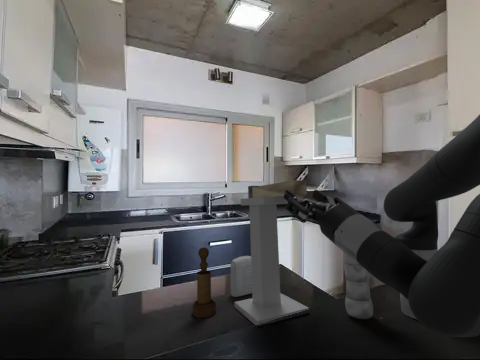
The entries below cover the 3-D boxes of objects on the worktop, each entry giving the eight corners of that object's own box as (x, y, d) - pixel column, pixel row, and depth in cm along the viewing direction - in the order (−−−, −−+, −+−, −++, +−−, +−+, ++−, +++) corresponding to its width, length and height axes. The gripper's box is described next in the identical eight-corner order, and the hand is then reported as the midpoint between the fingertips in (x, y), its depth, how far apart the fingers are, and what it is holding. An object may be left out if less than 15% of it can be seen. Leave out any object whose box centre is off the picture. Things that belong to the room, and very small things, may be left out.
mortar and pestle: (205, 319, 65) (204, 250, 67) (187, 314, 69) (187, 248, 71) (220, 310, 71) (219, 246, 73) (203, 306, 74) (202, 245, 76)
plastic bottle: (351, 309, 69) (345, 236, 71) (377, 316, 64) (371, 238, 66) (341, 317, 65) (336, 239, 67) (369, 325, 60) (362, 241, 62)
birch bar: (260, 198, 81) (259, 186, 81) (307, 194, 60) (306, 178, 61) (248, 198, 79) (248, 186, 79) (293, 194, 58) (292, 178, 59)
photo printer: (253, 288, 89) (252, 253, 90) (260, 291, 86) (259, 255, 87) (229, 295, 83) (228, 257, 85) (235, 298, 80) (234, 259, 81)
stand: (279, 297, 80) (275, 198, 83) (309, 313, 67) (302, 196, 71) (234, 307, 73) (231, 199, 76) (258, 327, 60) (253, 196, 64)
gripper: (384, 213, 48) (327, 179, 61) (329, 216, 41) (279, 178, 55) (369, 245, 50) (318, 206, 64) (316, 252, 44) (271, 207, 58)
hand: (300, 193), depth 59 cm, fingers open, 8 cm apart
